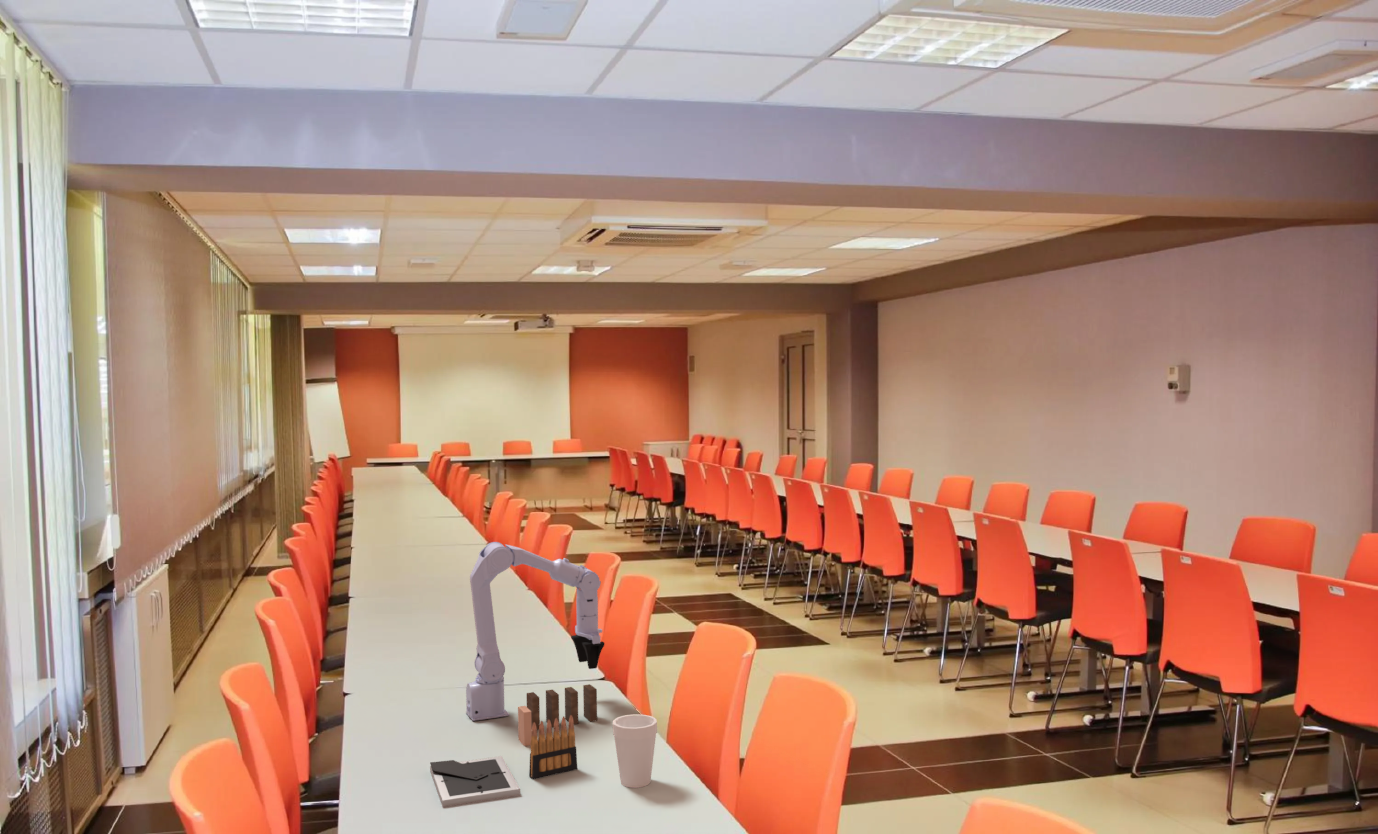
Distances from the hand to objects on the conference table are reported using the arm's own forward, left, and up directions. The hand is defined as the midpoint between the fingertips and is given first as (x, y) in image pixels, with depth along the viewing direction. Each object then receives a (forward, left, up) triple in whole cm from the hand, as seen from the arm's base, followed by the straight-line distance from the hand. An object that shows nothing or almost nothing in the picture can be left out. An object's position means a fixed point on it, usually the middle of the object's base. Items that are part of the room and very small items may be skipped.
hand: (587, 664), depth 276 cm
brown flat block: (-4, -13, -10) cm, 17 cm away
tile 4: (-9, -13, -10) cm, 19 cm away
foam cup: (-10, -58, -10) cm, 60 cm away
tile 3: (-14, -13, -10) cm, 22 cm away
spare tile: (-24, -23, -10) cm, 35 cm away
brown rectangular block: (-19, -13, -10) cm, 25 cm away
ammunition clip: (-24, -45, -10) cm, 52 cm away
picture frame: (-41, -43, -11) cm, 61 cm away
